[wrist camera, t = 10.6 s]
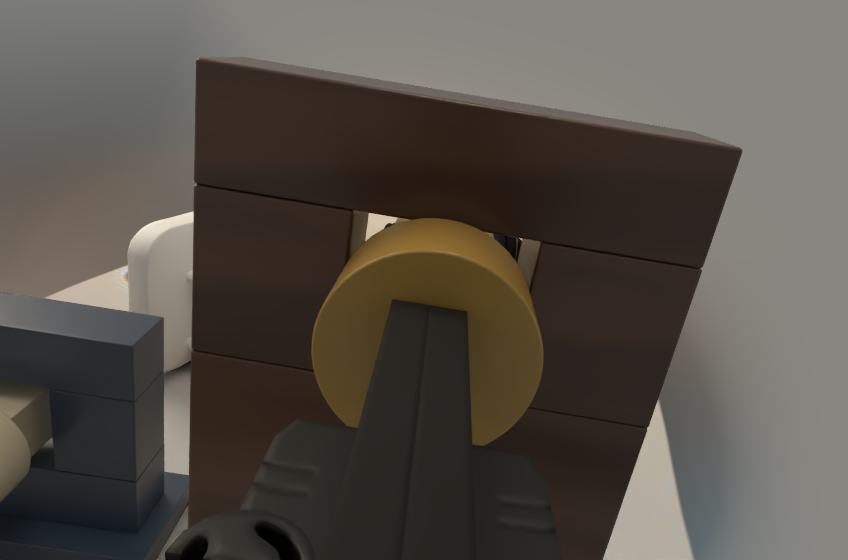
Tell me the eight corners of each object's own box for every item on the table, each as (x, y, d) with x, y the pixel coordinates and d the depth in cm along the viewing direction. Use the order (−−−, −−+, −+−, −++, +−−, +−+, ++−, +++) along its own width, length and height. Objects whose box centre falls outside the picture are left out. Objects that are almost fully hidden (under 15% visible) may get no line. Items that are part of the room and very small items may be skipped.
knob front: (516, 474, 13) (569, 272, 11) (301, 438, 13) (321, 230, 11) (500, 342, 19) (533, 197, 18) (353, 317, 19) (371, 170, 18)
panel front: (546, 880, 20) (831, 168, 11) (134, 807, 20) (110, 48, 12) (529, 699, 26) (710, 132, 17) (206, 643, 26) (226, 50, 17)
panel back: (143, 581, 28) (139, 367, 24) (-159, 536, 28) (-215, 312, 24) (194, 493, 34) (198, 307, 29) (-56, 455, 33) (-88, 262, 29)
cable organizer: (247, 430, 39) (257, 265, 35) (123, 380, 42) (118, 223, 38) (354, 344, 53) (369, 217, 49) (253, 310, 56) (260, 188, 52)
